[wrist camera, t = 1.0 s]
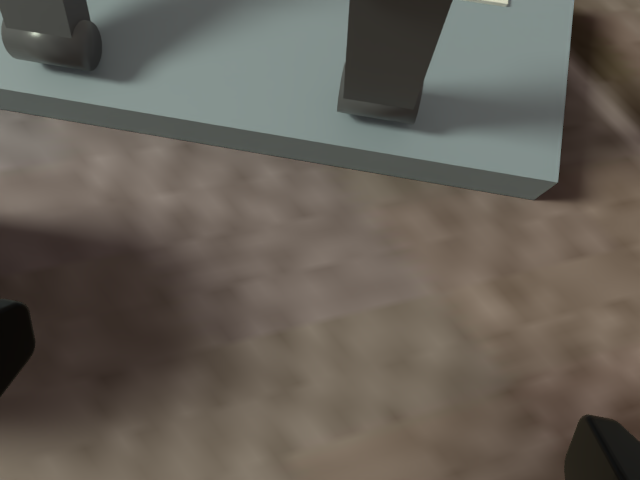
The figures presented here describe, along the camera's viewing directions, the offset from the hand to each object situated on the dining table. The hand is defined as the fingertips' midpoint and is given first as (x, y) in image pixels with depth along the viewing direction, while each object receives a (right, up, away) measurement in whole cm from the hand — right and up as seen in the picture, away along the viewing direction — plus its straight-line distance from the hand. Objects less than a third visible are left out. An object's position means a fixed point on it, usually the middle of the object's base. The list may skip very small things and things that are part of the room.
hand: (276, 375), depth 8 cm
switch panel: (-3, +11, +17) cm, 21 cm away
